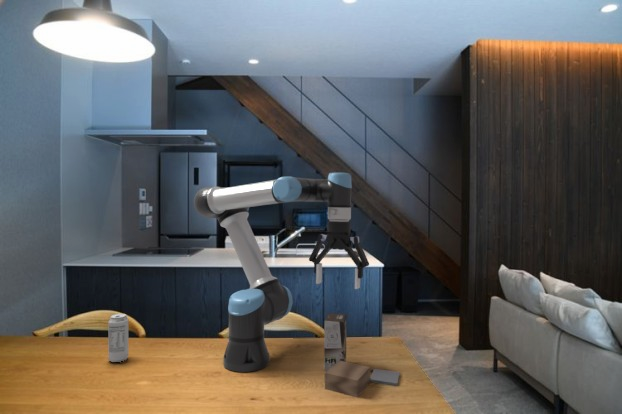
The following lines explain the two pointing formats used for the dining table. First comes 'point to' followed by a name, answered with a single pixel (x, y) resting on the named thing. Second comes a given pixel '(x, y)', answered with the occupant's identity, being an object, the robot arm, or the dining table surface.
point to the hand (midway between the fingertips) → (337, 285)
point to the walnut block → (347, 378)
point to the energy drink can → (118, 337)
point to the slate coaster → (385, 377)
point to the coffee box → (334, 340)
